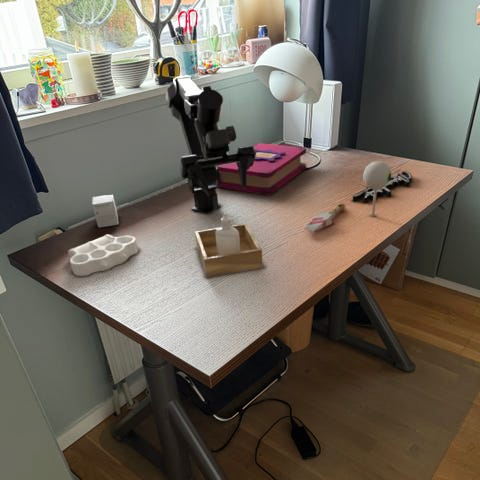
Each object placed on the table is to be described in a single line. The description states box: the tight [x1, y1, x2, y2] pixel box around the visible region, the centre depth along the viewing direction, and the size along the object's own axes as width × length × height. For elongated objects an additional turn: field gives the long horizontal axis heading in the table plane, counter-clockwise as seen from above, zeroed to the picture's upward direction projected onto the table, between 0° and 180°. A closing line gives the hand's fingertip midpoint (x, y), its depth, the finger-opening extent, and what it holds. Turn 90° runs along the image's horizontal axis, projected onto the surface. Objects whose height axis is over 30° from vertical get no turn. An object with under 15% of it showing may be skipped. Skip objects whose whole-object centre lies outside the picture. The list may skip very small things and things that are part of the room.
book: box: [216, 142, 307, 196], centre depth 160 cm, size 21×28×8 cm
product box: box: [91, 194, 119, 229], centre depth 137 cm, size 6×6×7 cm
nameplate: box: [352, 170, 413, 204], centre depth 145 cm, size 28×2×10 cm
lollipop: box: [362, 160, 392, 217], centre depth 126 cm, size 7×7×15 cm
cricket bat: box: [303, 202, 346, 232], centre depth 129 cm, size 4×3×20 cm
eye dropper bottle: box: [215, 212, 241, 256], centre depth 112 cm, size 4×6×12 cm
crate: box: [194, 222, 264, 278], centre depth 115 cm, size 16×14×5 cm
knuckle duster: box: [67, 234, 139, 277], centre depth 120 cm, size 3×18×15 cm
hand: (227, 191), depth 114 cm, fingers open, 9 cm apart
